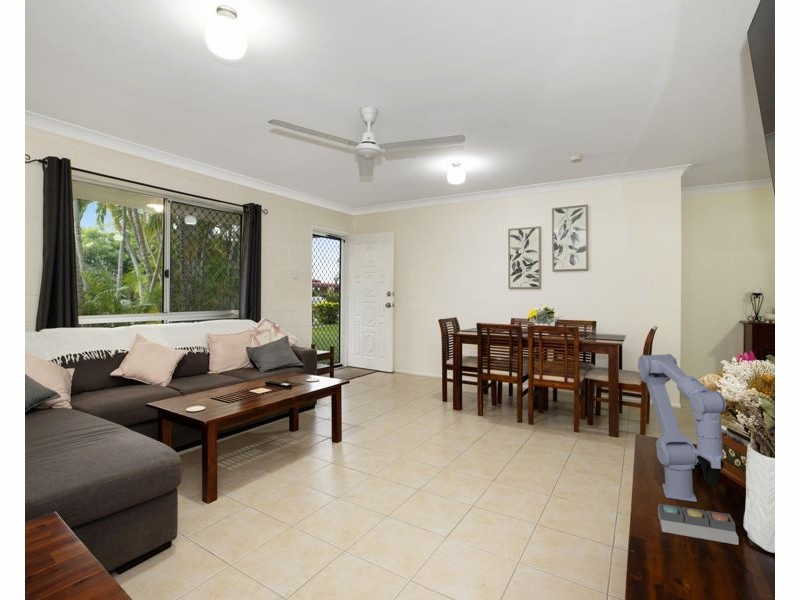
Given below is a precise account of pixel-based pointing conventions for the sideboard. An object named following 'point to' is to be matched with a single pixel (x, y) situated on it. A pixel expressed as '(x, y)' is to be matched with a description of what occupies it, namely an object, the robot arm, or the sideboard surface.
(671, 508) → the teal button
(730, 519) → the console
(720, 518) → the brick button
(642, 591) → the sideboard surface
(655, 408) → the robot arm
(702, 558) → the sideboard surface
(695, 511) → the ochre button
